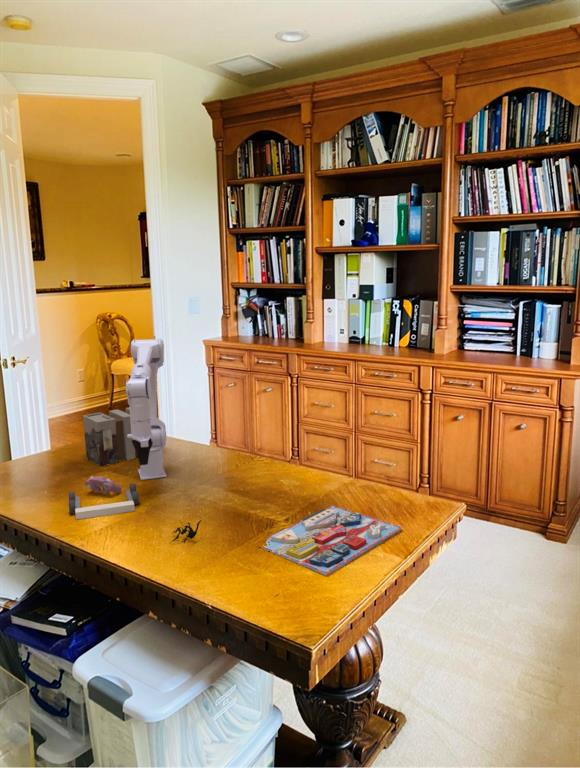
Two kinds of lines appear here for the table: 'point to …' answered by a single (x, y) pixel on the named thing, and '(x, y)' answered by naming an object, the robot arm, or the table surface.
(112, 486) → the pink toy figurine
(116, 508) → the chassis
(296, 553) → the puzzle board
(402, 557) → the table surface
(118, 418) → the bookend
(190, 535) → the creature
